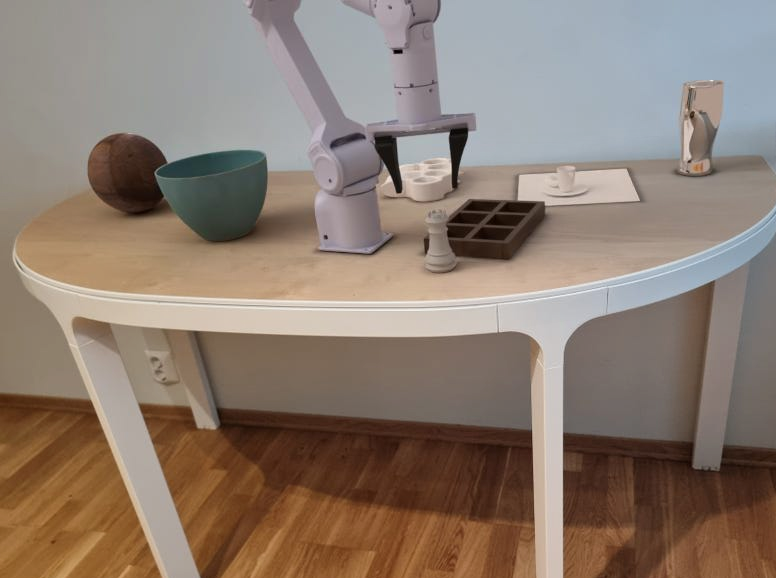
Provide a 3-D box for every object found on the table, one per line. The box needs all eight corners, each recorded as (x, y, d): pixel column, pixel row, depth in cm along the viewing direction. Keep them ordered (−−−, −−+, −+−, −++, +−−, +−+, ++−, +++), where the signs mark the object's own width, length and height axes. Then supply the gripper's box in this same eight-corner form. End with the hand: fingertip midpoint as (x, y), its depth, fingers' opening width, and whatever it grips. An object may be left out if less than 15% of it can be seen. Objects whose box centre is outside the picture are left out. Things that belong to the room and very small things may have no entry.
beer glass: (676, 177, 123) (684, 88, 116) (671, 167, 129) (678, 81, 122) (718, 175, 122) (729, 85, 115) (711, 165, 128) (720, 78, 121)
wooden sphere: (190, 196, 146) (170, 122, 138) (159, 220, 133) (136, 139, 125) (123, 201, 148) (100, 128, 141) (87, 224, 135) (60, 146, 128)
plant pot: (152, 250, 118) (130, 177, 112) (214, 215, 132) (198, 149, 126) (243, 254, 111) (225, 178, 105) (298, 217, 126) (285, 148, 120)
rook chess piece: (438, 259, 101) (433, 205, 97) (463, 264, 98) (459, 209, 94) (418, 270, 98) (413, 215, 94) (444, 275, 95) (439, 219, 92)
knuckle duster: (396, 176, 143) (467, 173, 140) (378, 204, 128) (458, 200, 125) (394, 160, 141) (466, 156, 139) (376, 186, 126) (456, 181, 123)
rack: (424, 253, 104) (423, 238, 102) (469, 212, 118) (469, 198, 117) (508, 259, 98) (508, 243, 97) (545, 215, 113) (545, 201, 112)
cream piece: (542, 184, 128) (541, 162, 126) (586, 182, 126) (587, 159, 124) (542, 199, 120) (542, 175, 118) (590, 196, 119) (590, 173, 117)
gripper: (355, 95, 87) (371, 202, 93) (472, 82, 85) (480, 192, 91) (363, 86, 93) (377, 187, 99) (472, 74, 91) (480, 178, 98)
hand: (427, 189), depth 96 cm, fingers open, 7 cm apart
